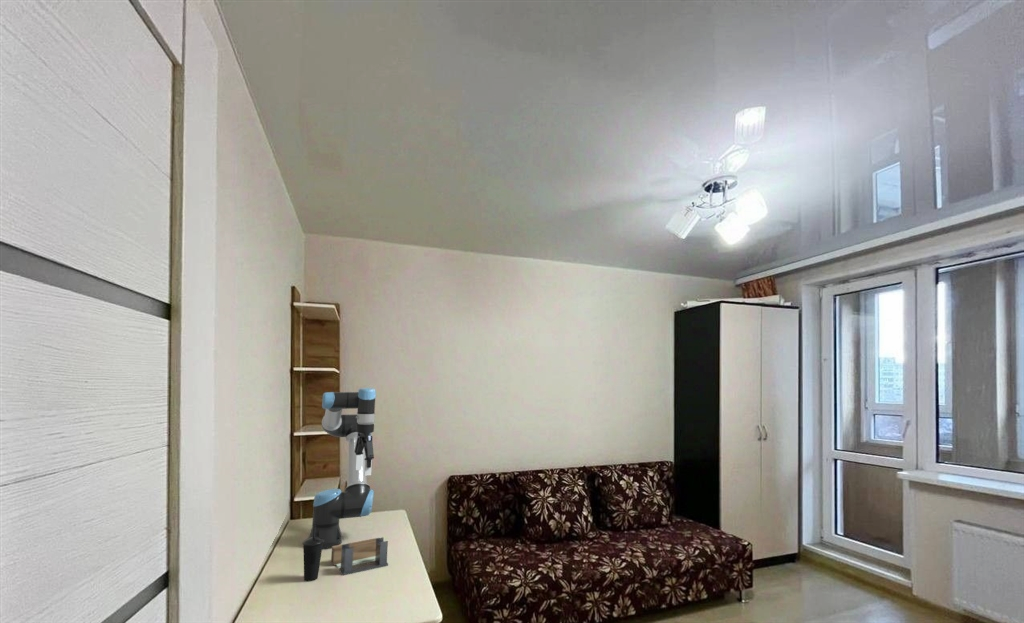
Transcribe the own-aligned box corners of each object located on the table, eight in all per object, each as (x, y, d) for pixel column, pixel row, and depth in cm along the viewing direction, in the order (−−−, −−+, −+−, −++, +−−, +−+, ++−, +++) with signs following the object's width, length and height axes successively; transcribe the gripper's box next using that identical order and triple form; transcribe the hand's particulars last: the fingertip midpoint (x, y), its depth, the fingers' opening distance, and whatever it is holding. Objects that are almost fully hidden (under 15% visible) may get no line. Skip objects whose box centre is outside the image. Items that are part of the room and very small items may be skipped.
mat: (332, 560, 200) (332, 559, 200) (374, 552, 209) (374, 550, 210) (337, 567, 192) (337, 566, 192) (381, 558, 202) (381, 557, 202)
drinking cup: (326, 576, 184) (329, 522, 187) (311, 584, 177) (315, 527, 180) (310, 573, 187) (313, 520, 189) (295, 581, 180) (299, 525, 182)
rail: (331, 561, 197) (332, 546, 198) (378, 552, 208) (379, 537, 209) (333, 564, 194) (334, 549, 195) (381, 554, 205) (382, 540, 206)
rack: (339, 570, 190) (340, 545, 191) (383, 560, 200) (384, 537, 201) (343, 575, 185) (344, 549, 186) (388, 565, 195) (389, 541, 196)
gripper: (349, 421, 221) (346, 468, 218) (365, 426, 200) (362, 478, 197) (365, 420, 225) (363, 466, 222) (383, 425, 204) (380, 476, 202)
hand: (363, 472), depth 210 cm, fingers open, 13 cm apart
